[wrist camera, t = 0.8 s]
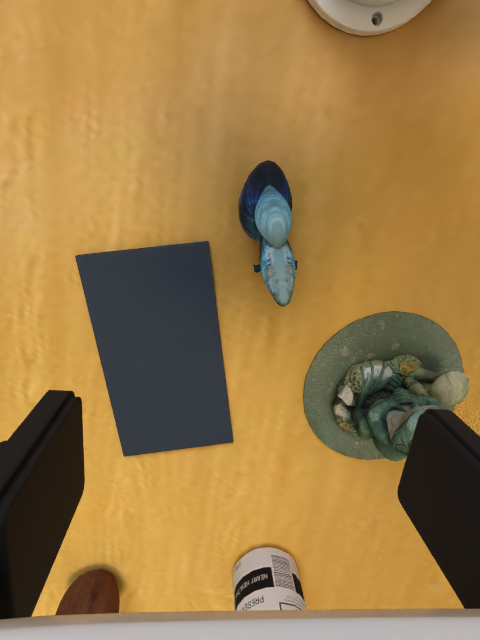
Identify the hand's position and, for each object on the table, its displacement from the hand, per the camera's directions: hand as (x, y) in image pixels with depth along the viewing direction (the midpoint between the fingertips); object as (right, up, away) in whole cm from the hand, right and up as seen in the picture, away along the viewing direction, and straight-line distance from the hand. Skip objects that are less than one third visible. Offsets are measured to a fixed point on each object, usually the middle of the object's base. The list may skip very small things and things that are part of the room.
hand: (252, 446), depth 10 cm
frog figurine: (+15, -4, +31) cm, 35 cm away
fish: (+2, +12, +24) cm, 27 cm away
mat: (-8, 0, +28) cm, 29 cm away
